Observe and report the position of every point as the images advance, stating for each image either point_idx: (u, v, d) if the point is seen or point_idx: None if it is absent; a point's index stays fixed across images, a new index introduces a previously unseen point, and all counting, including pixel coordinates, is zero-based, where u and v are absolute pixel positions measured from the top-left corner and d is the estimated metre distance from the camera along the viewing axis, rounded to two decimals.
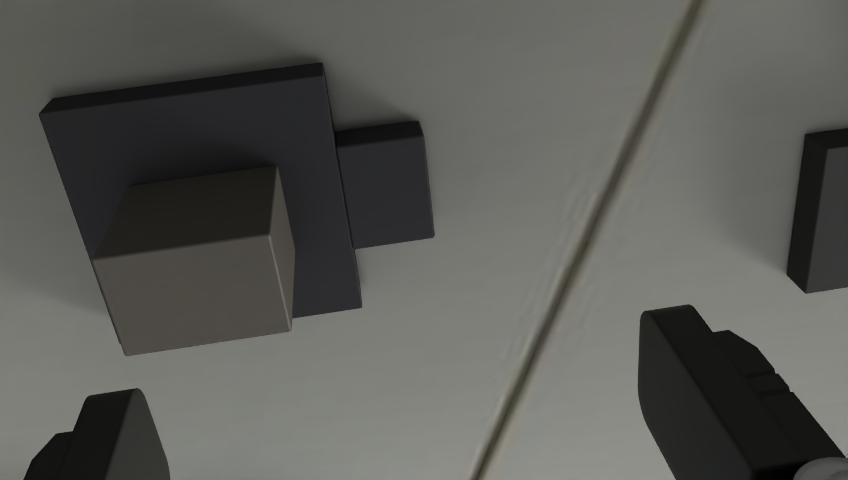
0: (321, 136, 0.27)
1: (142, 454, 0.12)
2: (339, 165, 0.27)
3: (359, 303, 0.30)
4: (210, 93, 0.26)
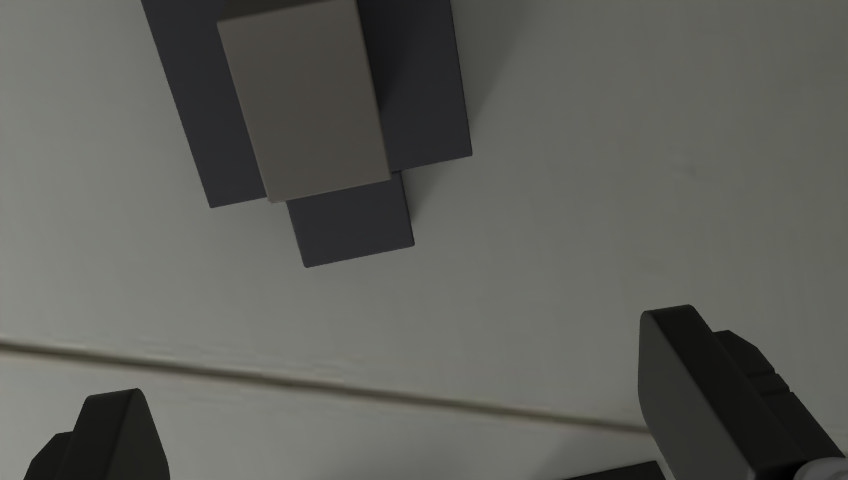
0: (411, 157, 0.27)
1: (141, 453, 0.12)
2: None
3: (216, 205, 0.27)
4: (453, 51, 0.25)
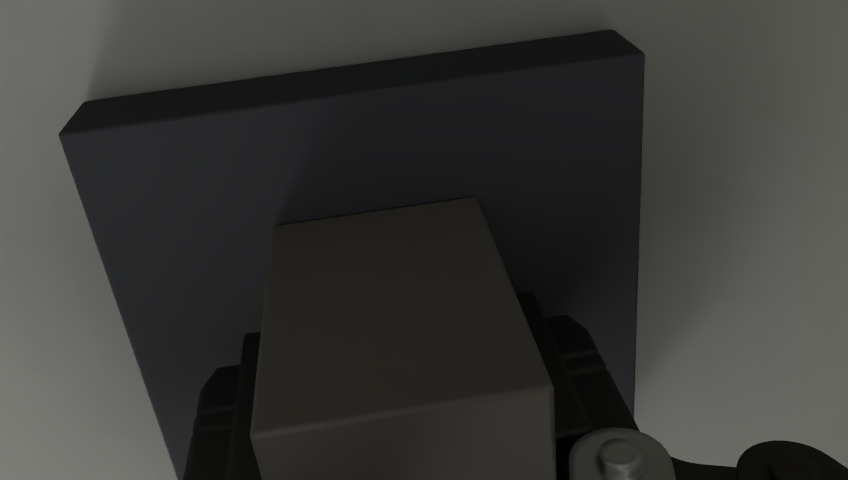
0: None
1: None
2: None
3: None
4: (629, 334, 0.15)
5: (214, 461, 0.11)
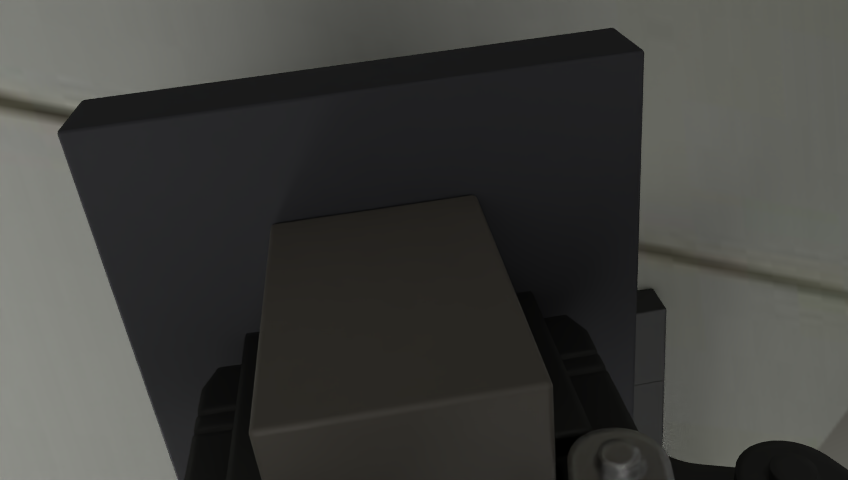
0: None
1: None
2: None
3: None
4: (629, 332, 0.15)
5: (216, 461, 0.11)
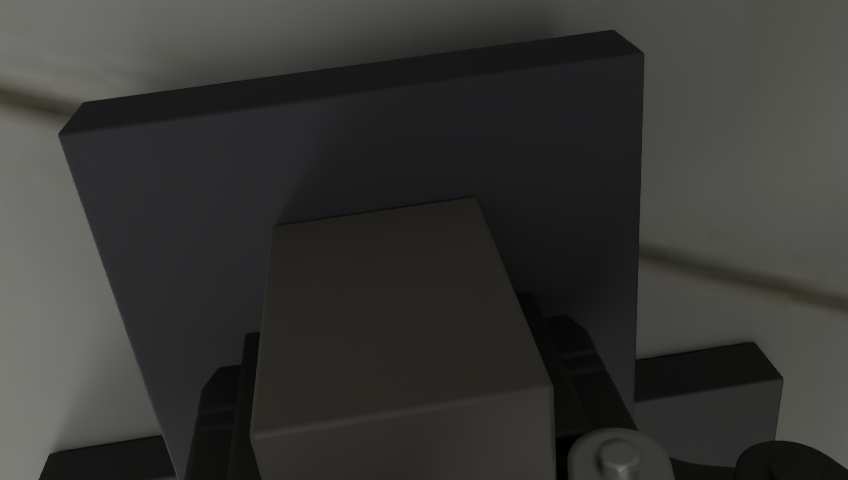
0: None
1: None
2: None
3: None
4: (629, 333, 0.15)
5: (215, 461, 0.11)
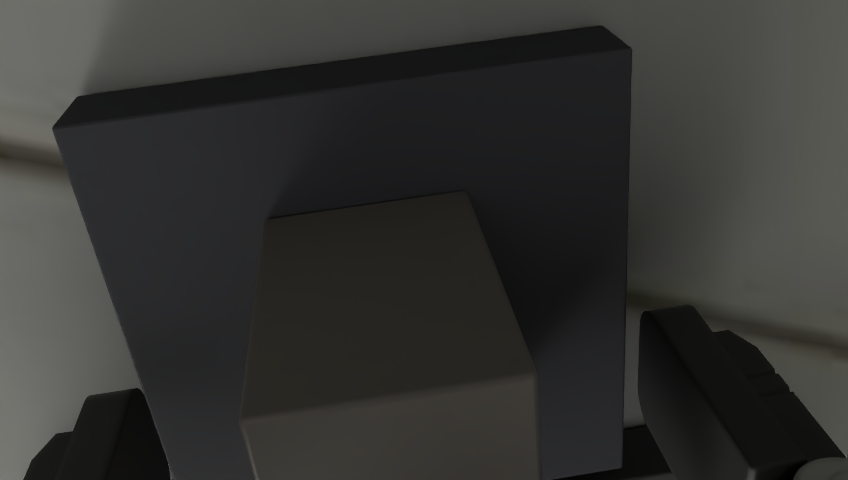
0: None
1: (141, 453, 0.12)
2: None
3: None
4: (619, 327, 0.15)
5: None
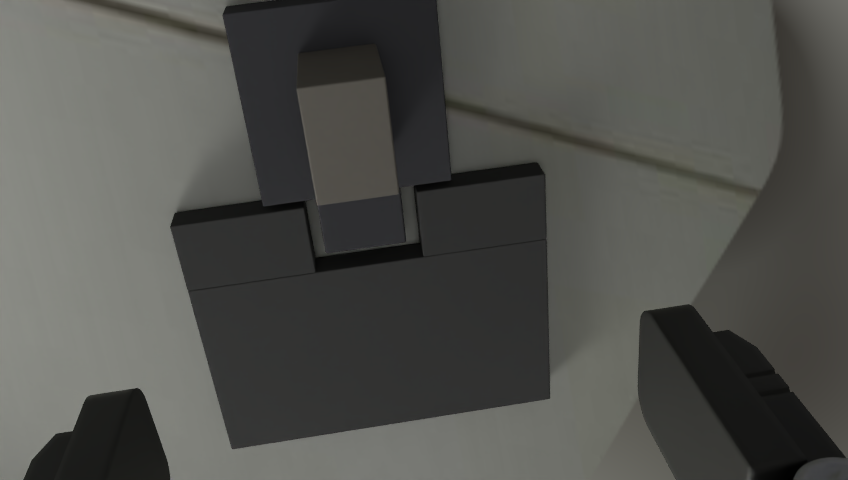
0: (408, 178, 0.38)
1: (141, 454, 0.12)
2: None
3: (267, 204, 0.38)
4: (442, 108, 0.37)
5: None
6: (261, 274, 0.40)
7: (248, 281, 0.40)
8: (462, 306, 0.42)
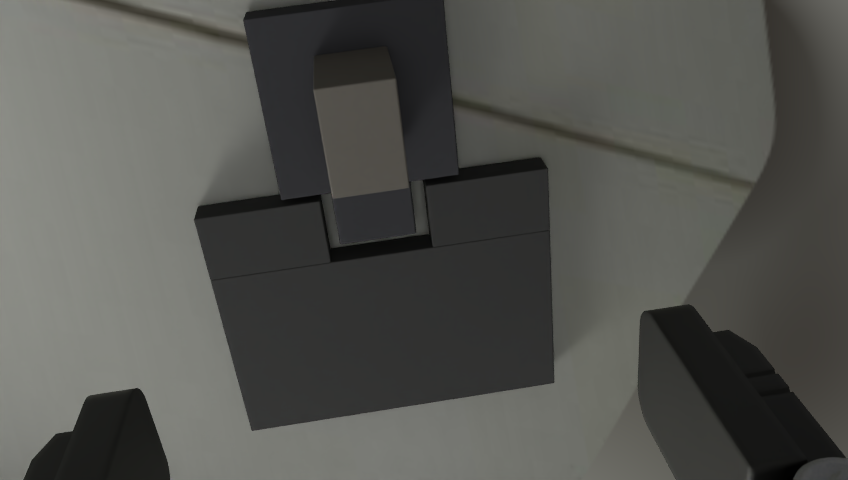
0: (418, 173, 0.40)
1: (141, 453, 0.12)
2: None
3: (285, 198, 0.40)
4: (450, 106, 0.39)
5: None
6: (279, 264, 0.42)
7: (267, 271, 0.42)
8: (470, 294, 0.44)
